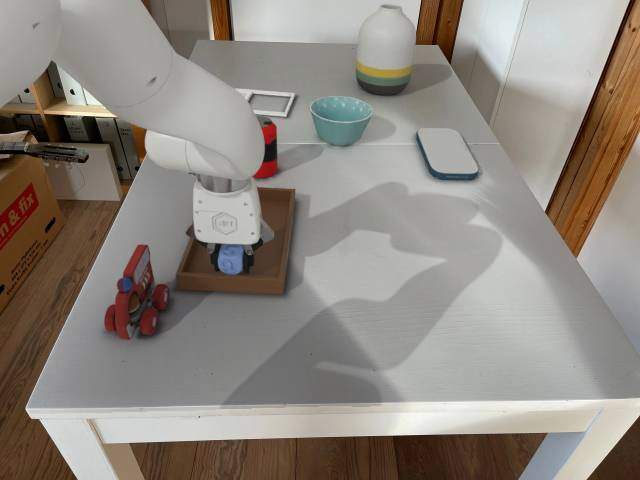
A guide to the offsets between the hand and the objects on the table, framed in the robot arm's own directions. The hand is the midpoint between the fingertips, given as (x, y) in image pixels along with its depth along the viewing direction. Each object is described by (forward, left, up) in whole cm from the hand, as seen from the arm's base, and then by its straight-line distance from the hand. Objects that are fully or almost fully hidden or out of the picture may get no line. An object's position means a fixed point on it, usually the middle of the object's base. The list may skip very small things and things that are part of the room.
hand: (233, 266), depth 84 cm
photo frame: (+73, +5, -3) cm, 73 cm away
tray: (+10, 0, -3) cm, 10 cm away
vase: (+89, -31, -3) cm, 94 cm away
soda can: (+36, 0, -3) cm, 36 cm away
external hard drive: (+47, -44, -3) cm, 65 cm away
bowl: (+54, -18, -3) cm, 57 cm away
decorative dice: (0, 0, -1) cm, 1 cm away
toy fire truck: (-10, +13, -3) cm, 17 cm away
